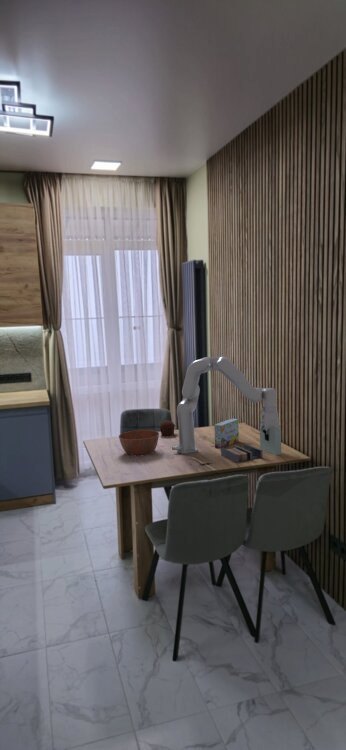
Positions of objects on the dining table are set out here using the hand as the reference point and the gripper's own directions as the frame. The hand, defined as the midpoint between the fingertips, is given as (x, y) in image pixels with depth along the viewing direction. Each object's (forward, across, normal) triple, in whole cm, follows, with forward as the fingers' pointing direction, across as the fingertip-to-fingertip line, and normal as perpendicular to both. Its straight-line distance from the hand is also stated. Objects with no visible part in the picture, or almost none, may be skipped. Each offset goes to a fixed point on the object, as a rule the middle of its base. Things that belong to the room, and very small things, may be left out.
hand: (270, 439), depth 301 cm
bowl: (+9, -66, +45) cm, 80 cm away
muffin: (+9, -34, +77) cm, 84 cm away
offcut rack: (+8, -20, 0) cm, 22 cm away
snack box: (+9, -12, +31) cm, 34 cm away
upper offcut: (+5, -23, 0) cm, 24 cm away
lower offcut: (+7, -23, 0) cm, 24 cm away
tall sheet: (+7, 0, 0) cm, 7 cm away
